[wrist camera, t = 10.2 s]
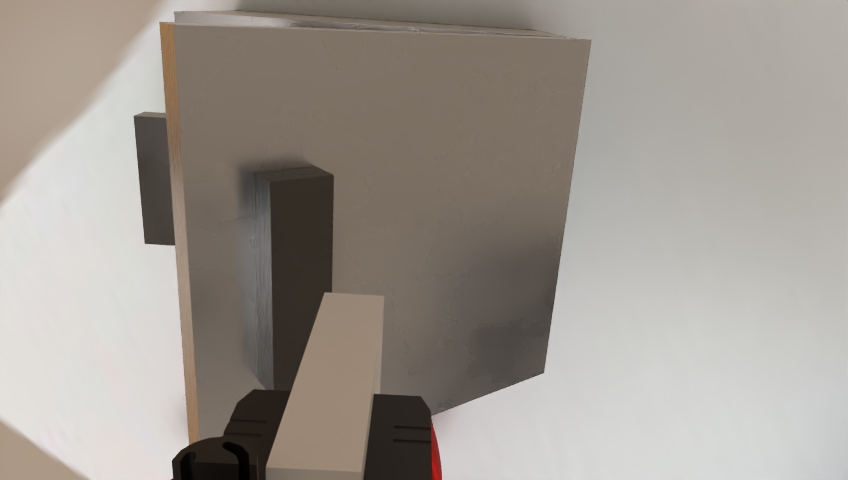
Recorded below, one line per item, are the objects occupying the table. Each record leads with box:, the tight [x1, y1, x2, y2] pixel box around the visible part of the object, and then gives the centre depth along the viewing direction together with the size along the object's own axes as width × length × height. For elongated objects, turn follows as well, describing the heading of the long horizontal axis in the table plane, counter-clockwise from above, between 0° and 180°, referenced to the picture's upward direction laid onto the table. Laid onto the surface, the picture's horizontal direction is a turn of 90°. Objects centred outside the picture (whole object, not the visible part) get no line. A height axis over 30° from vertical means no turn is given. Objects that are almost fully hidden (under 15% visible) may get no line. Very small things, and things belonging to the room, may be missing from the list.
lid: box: [160, 22, 591, 445], centre depth 24 cm, size 16×15×2 cm
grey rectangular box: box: [134, 10, 567, 245], centre depth 33 cm, size 18×15×9 cm
